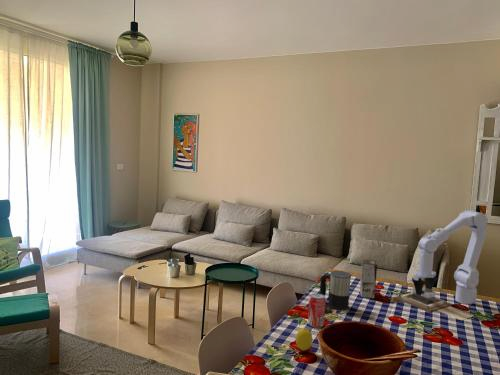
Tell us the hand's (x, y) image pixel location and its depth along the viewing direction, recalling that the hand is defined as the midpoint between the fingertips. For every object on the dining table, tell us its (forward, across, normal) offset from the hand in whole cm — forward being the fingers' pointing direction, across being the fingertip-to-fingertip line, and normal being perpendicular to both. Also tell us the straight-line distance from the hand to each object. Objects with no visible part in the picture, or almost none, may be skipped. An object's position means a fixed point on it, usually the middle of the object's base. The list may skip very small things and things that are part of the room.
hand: (423, 293), depth 183 cm
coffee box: (+6, -13, +21) cm, 25 cm away
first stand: (+6, +1, -15) cm, 16 cm away
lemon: (+5, -78, -6) cm, 79 cm away
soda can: (+6, -60, +7) cm, 61 cm away
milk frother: (+6, -41, +17) cm, 45 cm away
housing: (+3, 0, 0) cm, 4 cm away
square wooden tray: (+6, 0, 0) cm, 6 cm away
